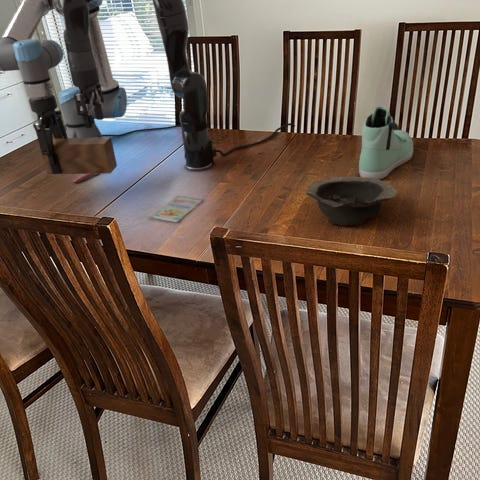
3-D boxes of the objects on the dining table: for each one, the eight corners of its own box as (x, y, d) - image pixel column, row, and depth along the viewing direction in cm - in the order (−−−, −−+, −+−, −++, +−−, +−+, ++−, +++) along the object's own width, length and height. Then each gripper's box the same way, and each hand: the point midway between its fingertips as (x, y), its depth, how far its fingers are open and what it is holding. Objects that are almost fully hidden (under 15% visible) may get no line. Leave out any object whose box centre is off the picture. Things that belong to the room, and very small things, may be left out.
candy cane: (65, 180, 171) (64, 177, 170) (98, 165, 181) (97, 162, 180) (76, 184, 168) (75, 180, 167) (108, 168, 178) (107, 164, 177)
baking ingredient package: (151, 216, 142) (178, 195, 153) (151, 217, 142) (178, 197, 153) (176, 221, 138) (202, 199, 149) (176, 222, 138) (202, 201, 150)
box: (47, 174, 152) (38, 145, 147) (55, 166, 157) (47, 138, 152) (110, 173, 149) (104, 143, 144) (117, 165, 154) (110, 137, 149)
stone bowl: (342, 242, 123) (342, 209, 118) (290, 211, 143) (288, 182, 139) (415, 214, 131) (417, 183, 127) (356, 189, 152) (356, 161, 147)
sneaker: (418, 146, 175) (426, 90, 164) (396, 184, 150) (403, 120, 139) (381, 142, 181) (385, 87, 170) (353, 178, 156) (357, 116, 145)
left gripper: (37, 105, 133) (60, 181, 145) (66, 87, 149) (84, 157, 161) (12, 106, 134) (36, 181, 146) (44, 88, 150) (63, 158, 162)
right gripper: (85, 72, 130) (97, 130, 138) (104, 62, 142) (114, 116, 150) (59, 73, 131) (73, 131, 139) (80, 62, 143) (92, 116, 151)
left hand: (61, 169), depth 154 cm, fingers closed on box, 6 cm apart
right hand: (94, 123), depth 144 cm, fingers open, 8 cm apart
